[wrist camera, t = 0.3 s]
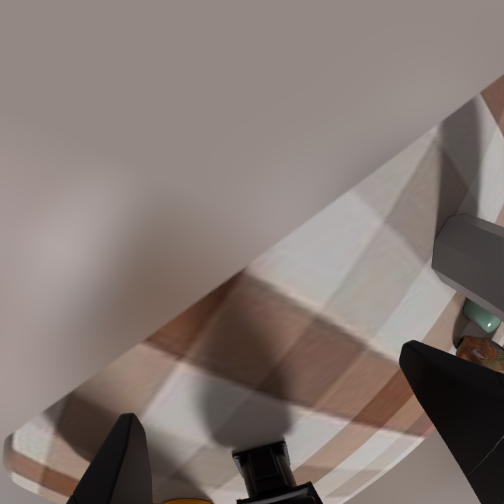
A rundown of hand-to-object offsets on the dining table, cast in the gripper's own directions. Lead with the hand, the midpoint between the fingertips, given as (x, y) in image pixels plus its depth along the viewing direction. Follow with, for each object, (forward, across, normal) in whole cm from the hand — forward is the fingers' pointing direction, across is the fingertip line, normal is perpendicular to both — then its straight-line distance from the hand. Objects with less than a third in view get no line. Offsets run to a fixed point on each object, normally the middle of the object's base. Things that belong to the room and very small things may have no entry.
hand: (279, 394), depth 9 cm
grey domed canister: (+14, -24, +5) cm, 28 cm away
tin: (+14, -33, +23) cm, 42 cm away
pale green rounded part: (+14, -30, +14) cm, 36 cm away
